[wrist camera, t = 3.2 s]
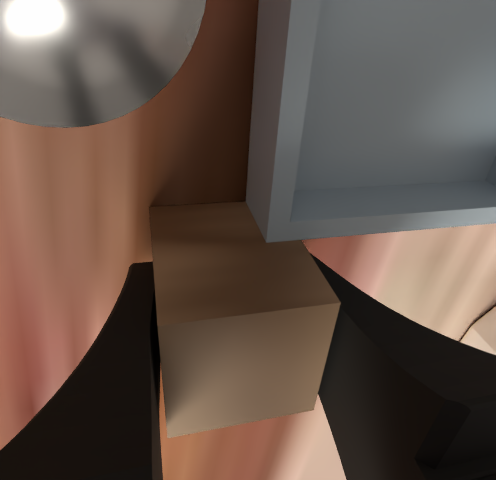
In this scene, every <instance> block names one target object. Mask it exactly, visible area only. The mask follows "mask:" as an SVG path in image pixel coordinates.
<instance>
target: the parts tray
mask: <svg viewBox="0 0 496 480" xmlns="http://www.w3.org/2000/svg"><path fill="white" fill-rule="evenodd" d="M246 203H247V205H248V207H249V209H250V211H251V213H252V215H253V217H254V219H255V221H256V223H257V225H258V227H259V229H260V231H261V233H262V235H263V237H264V239H265V241H266V243H269V242H281V241H293V240H305V239H316V238H328V237H340V236H352V235H364V234H375V233H387V232H399V231H411V230H423V229H434V228H446V227H458V226H470V225H482V224H494V223H496V0H259V6H258V21H257V36H256V52H255V67H254V82H253V98H252V113H251V128H250V143H249V159H248V174H247V189H246Z"/></svg>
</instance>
